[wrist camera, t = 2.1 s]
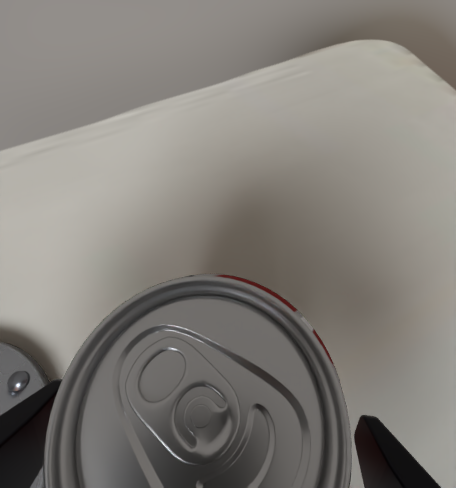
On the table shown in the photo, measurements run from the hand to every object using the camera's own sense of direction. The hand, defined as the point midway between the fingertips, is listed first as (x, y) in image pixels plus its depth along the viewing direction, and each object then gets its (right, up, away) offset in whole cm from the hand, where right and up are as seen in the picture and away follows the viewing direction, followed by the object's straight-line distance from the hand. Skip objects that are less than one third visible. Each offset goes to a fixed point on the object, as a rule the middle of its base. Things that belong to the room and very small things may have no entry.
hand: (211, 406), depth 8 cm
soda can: (0, -3, +8) cm, 8 cm away
